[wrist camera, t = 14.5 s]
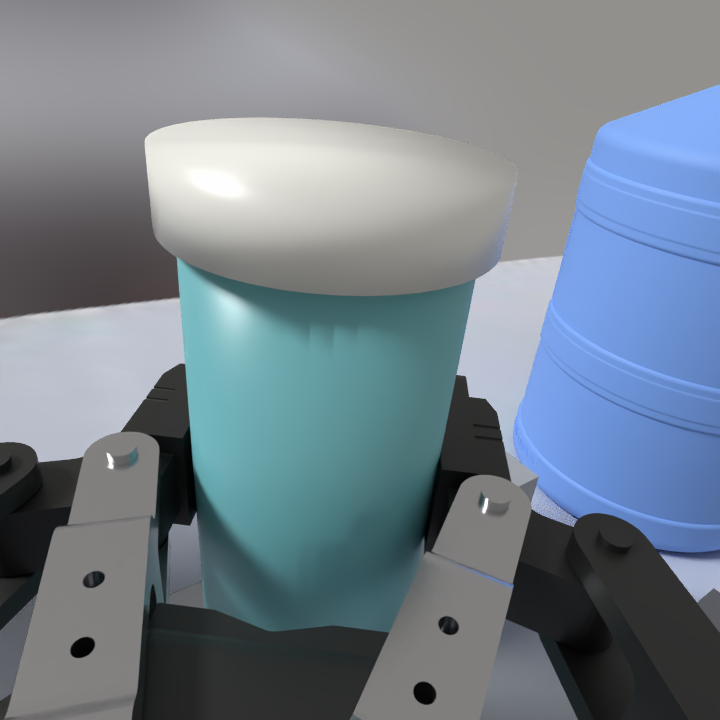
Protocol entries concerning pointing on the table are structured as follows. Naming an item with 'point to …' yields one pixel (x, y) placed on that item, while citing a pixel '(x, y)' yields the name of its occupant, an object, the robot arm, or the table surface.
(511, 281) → the table surface
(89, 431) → the table surface
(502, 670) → the housing
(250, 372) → the cylinder
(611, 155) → the water jug
